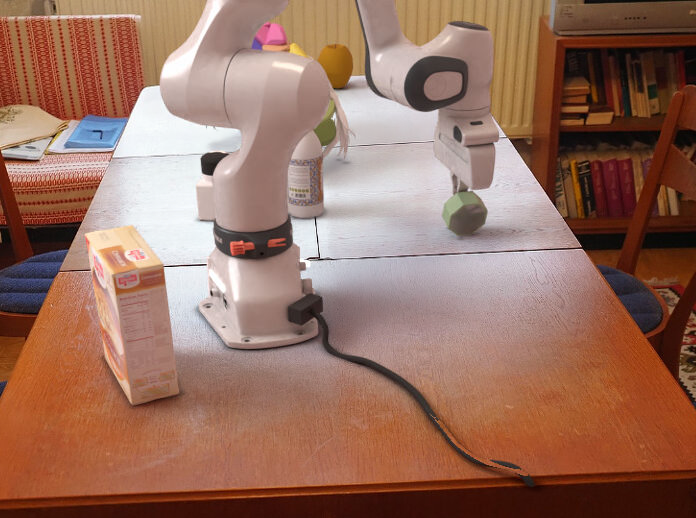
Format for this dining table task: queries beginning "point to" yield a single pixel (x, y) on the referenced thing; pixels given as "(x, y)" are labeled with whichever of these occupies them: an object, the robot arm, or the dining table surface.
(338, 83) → the apple
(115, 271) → the coffeecake box
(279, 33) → the colorful pinata
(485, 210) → the tin
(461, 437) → the dining table surface
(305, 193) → the bath foam
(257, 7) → the robot arm
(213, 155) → the medicine bottle
